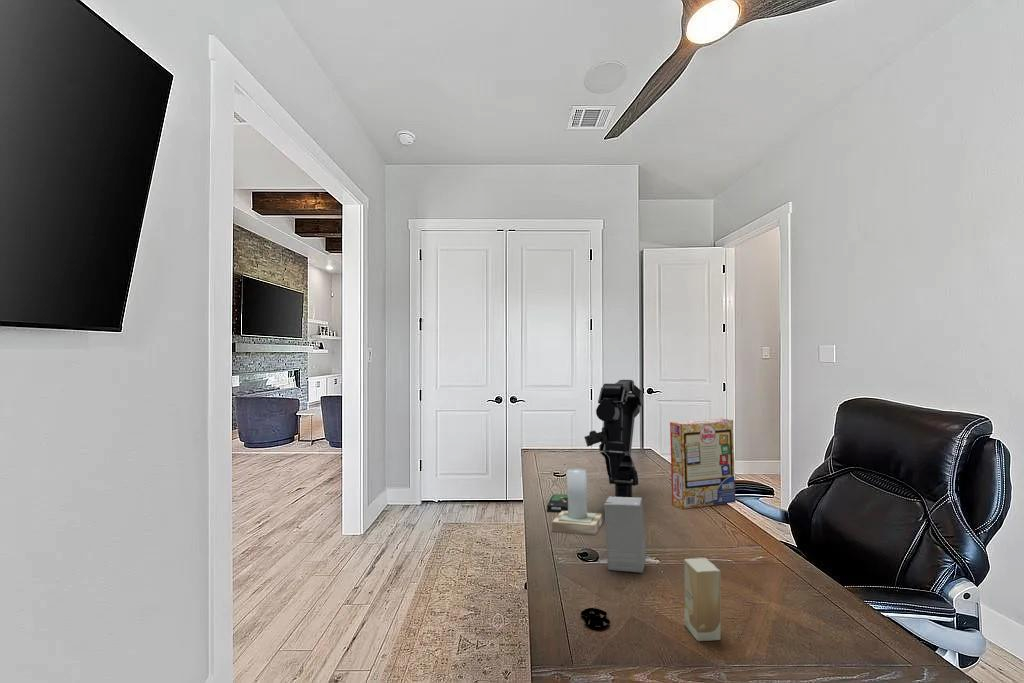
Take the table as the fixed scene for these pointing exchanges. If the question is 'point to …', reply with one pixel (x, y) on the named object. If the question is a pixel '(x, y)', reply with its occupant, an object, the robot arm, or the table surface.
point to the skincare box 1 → (625, 534)
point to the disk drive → (558, 503)
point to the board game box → (702, 463)
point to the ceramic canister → (577, 493)
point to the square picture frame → (577, 523)
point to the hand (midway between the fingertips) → (611, 475)
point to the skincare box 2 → (702, 599)
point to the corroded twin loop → (595, 618)
